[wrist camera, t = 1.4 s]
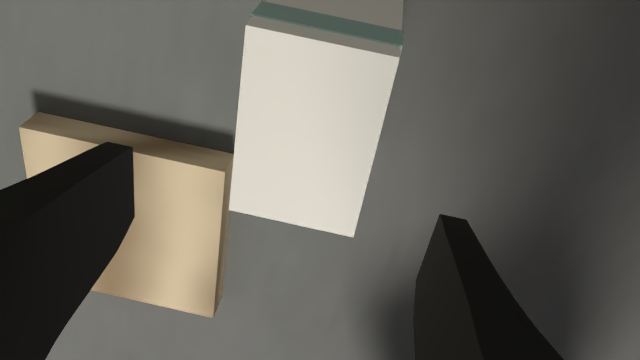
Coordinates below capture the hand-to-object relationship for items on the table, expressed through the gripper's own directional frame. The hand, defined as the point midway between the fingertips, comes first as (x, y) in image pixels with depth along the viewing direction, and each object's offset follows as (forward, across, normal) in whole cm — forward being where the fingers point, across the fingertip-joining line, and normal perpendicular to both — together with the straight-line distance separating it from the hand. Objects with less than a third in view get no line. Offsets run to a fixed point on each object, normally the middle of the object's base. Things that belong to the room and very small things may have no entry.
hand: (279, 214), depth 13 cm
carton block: (+10, 0, 0) cm, 10 cm away
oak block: (+11, +8, +10) cm, 17 cm away
